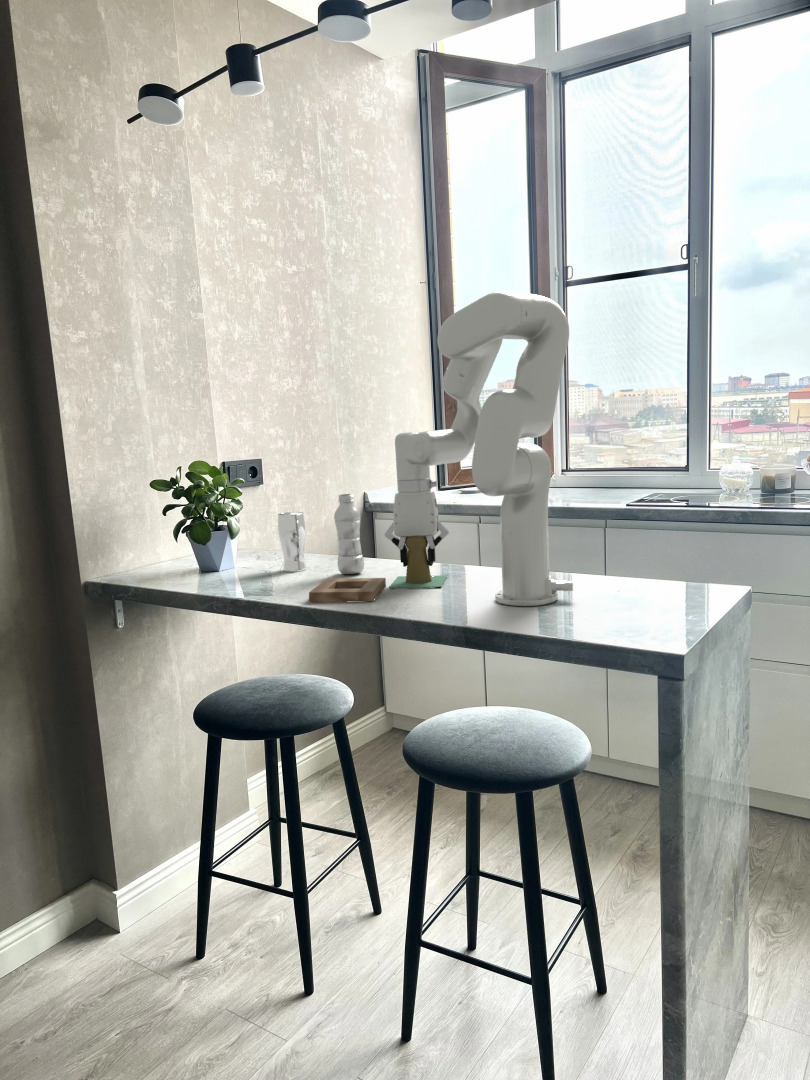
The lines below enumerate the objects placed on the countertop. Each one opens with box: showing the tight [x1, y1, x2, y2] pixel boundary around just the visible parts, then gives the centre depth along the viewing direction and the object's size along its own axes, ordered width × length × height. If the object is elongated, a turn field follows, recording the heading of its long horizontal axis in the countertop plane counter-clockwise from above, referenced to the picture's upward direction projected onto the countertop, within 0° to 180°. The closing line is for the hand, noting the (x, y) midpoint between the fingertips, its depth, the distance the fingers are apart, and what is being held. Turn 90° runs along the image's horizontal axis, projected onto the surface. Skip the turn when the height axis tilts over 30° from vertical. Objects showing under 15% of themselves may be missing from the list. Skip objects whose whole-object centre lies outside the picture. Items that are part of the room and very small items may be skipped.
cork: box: [405, 536, 432, 584], centre depth 182 cm, size 6×6×11 cm
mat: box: [388, 574, 448, 589], centre depth 183 cm, size 12×12×1 cm
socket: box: [308, 577, 387, 603], centre depth 174 cm, size 14×14×2 cm
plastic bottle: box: [333, 493, 365, 575], centre depth 196 cm, size 6×7×20 cm
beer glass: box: [277, 511, 307, 573], centre depth 206 cm, size 7×7×15 cm
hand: (418, 564), depth 182 cm, fingers open, 5 cm apart
